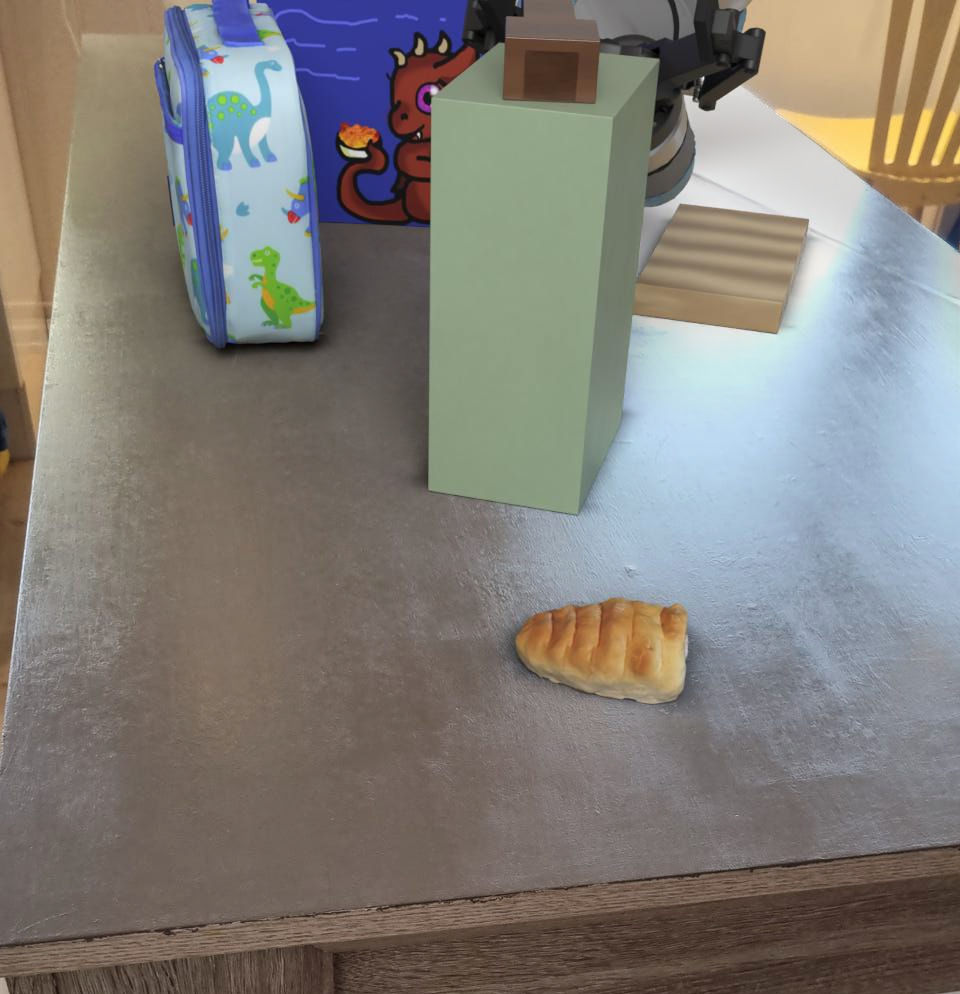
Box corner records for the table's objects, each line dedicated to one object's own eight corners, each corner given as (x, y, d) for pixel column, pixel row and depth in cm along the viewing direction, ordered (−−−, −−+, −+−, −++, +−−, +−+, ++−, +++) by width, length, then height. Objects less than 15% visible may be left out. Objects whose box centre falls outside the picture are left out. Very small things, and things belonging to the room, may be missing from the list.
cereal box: (505, 209, 132) (522, -179, 112) (504, 230, 127) (521, -171, 107) (280, 199, 132) (256, -191, 112) (270, 219, 127) (244, -184, 107)
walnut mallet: (505, 12, 90) (507, -42, 88) (581, 15, 90) (585, -38, 88) (502, 100, 73) (505, 36, 71) (595, 104, 74) (600, 40, 71)
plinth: (485, 404, 99) (498, 42, 83) (620, 424, 97) (659, 58, 82) (428, 491, 89) (431, 97, 73) (577, 515, 87) (613, 117, 72)
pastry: (508, 695, 72) (512, 633, 70) (519, 626, 77) (523, 567, 75) (686, 711, 72) (696, 649, 69) (686, 641, 77) (695, 581, 74)
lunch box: (173, 253, 120) (141, -28, 106) (295, 247, 122) (280, -28, 108) (192, 374, 101) (156, 53, 87) (336, 365, 103) (324, 50, 89)
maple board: (676, 231, 129) (679, 203, 127) (804, 247, 126) (809, 218, 125) (631, 314, 113) (635, 283, 111) (777, 334, 111) (783, 302, 109)
